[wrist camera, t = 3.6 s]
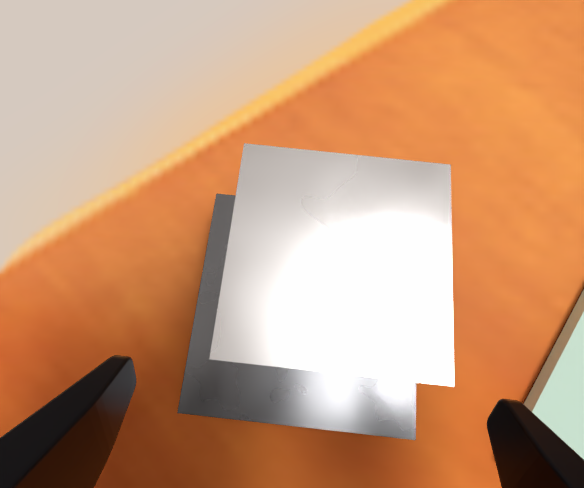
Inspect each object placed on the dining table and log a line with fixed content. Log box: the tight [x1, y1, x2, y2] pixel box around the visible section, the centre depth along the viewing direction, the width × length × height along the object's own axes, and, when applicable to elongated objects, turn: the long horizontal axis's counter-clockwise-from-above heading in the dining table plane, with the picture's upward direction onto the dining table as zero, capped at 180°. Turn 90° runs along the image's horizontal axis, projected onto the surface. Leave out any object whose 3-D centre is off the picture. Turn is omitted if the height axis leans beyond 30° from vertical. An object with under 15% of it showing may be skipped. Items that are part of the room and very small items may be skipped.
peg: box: [209, 143, 454, 387], centre depth 12 cm, size 4×4×13 cm
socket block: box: [178, 194, 416, 440], centre depth 17 cm, size 10×10×3 cm
